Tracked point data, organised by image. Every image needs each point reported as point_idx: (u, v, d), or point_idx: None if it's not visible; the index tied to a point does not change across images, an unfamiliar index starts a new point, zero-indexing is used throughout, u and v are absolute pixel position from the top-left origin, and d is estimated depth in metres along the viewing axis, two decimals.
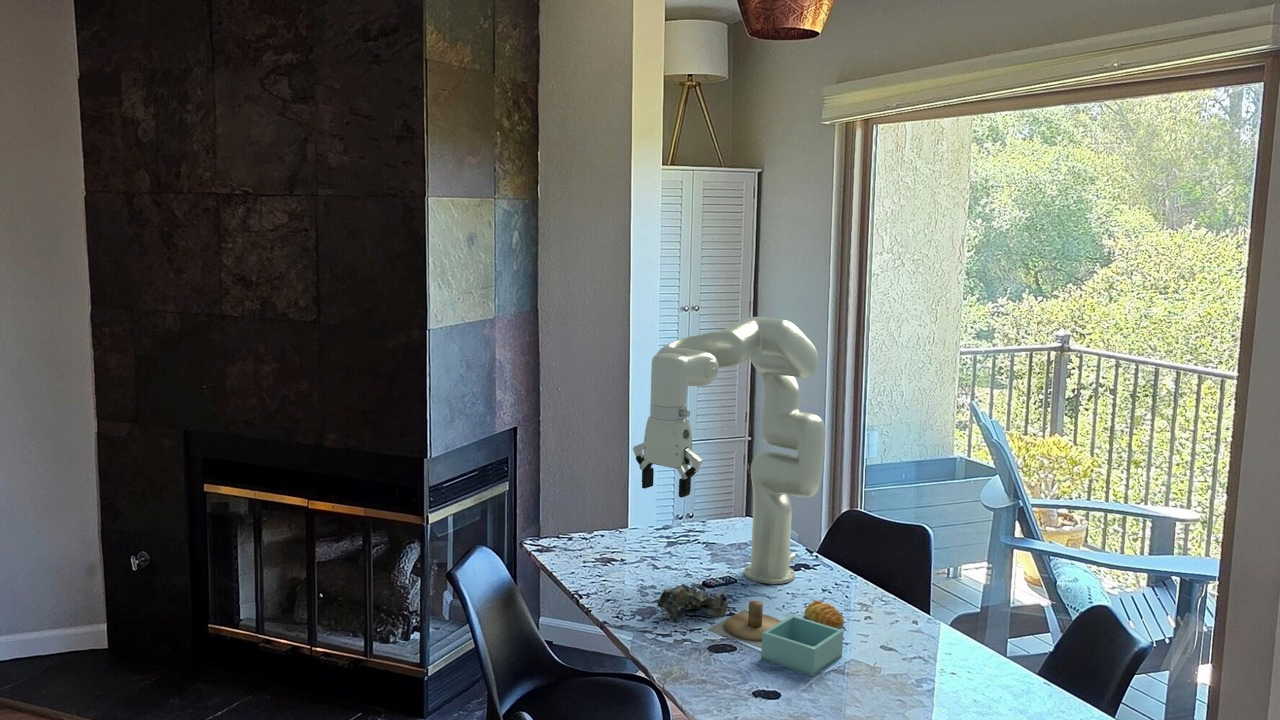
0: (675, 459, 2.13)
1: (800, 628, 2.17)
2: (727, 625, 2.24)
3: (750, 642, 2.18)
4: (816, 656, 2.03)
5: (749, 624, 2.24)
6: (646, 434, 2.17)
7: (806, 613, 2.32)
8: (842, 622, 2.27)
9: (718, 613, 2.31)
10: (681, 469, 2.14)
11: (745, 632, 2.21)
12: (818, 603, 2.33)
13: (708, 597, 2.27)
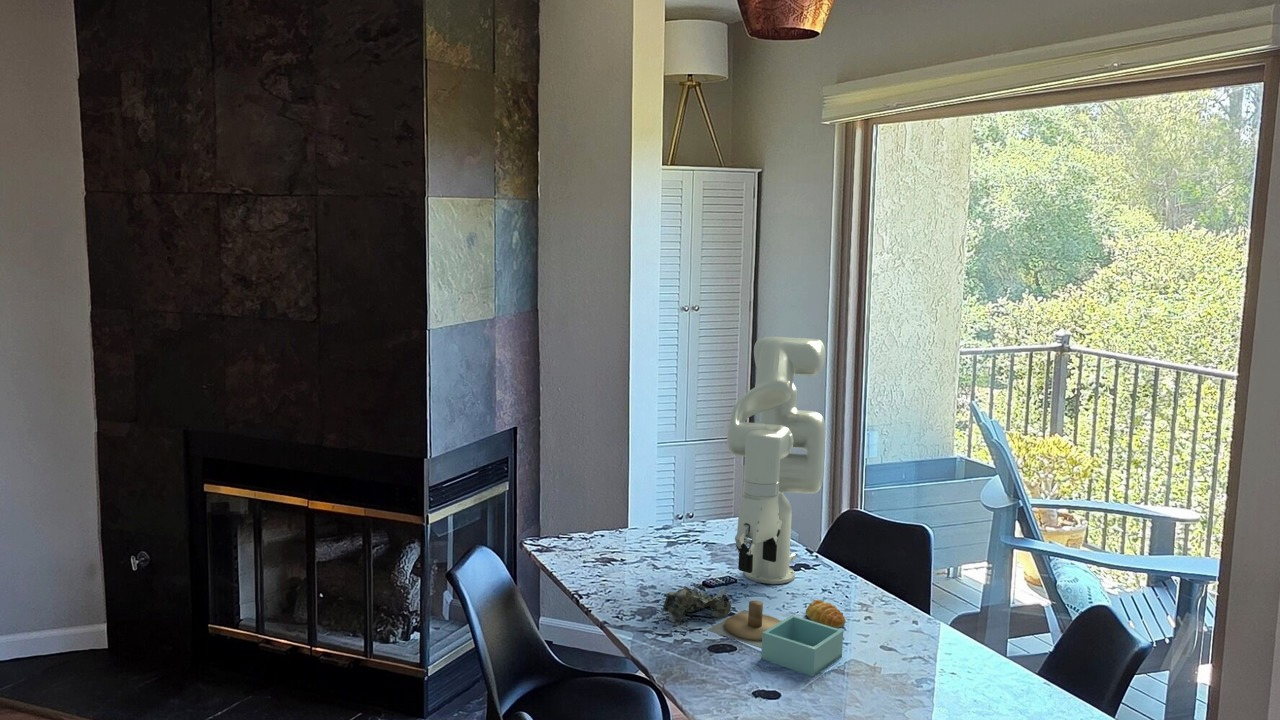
0: (776, 527, 2.23)
1: (800, 628, 2.17)
2: (727, 625, 2.24)
3: (750, 642, 2.18)
4: (816, 656, 2.03)
5: (749, 624, 2.24)
6: (759, 516, 2.16)
7: (807, 612, 2.32)
8: (843, 621, 2.27)
9: (721, 614, 2.30)
10: (775, 535, 2.24)
11: (745, 632, 2.21)
12: (818, 603, 2.33)
13: (713, 598, 2.27)
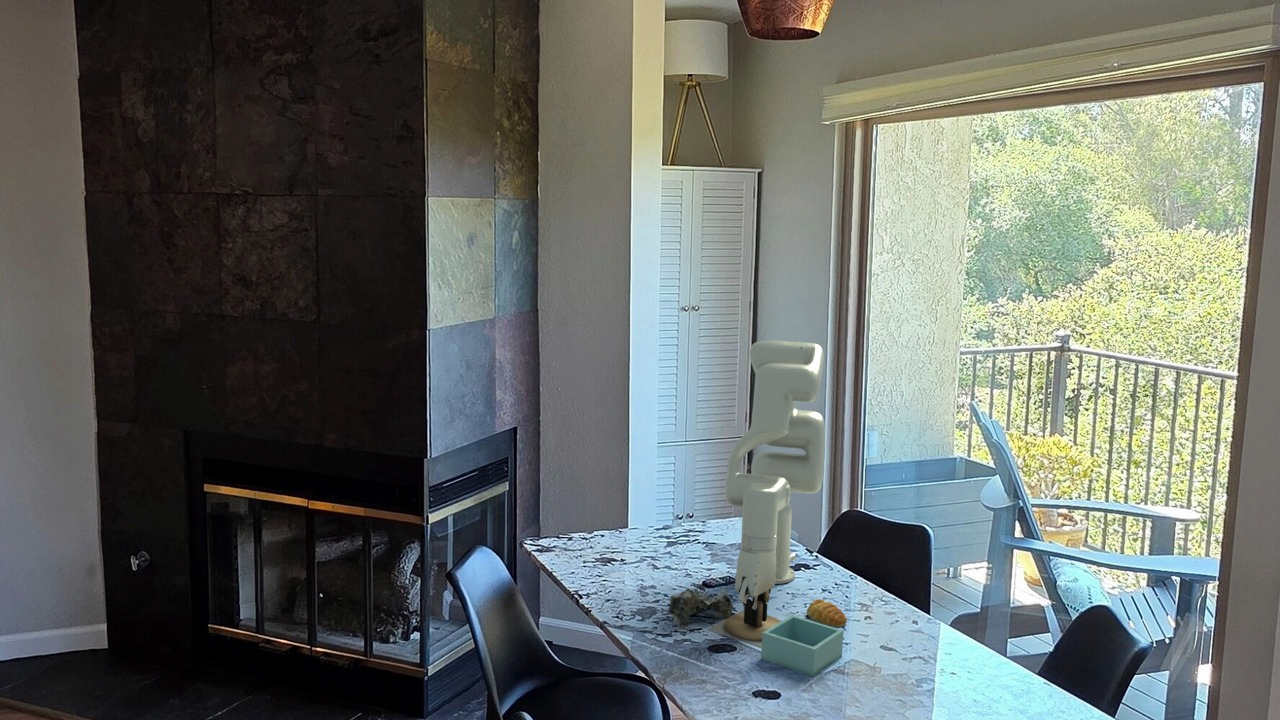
0: (774, 578, 2.25)
1: (800, 628, 2.17)
2: (727, 625, 2.24)
3: (750, 642, 2.18)
4: (816, 656, 2.03)
5: None
6: (756, 570, 2.18)
7: (808, 612, 2.32)
8: (845, 620, 2.28)
9: (724, 615, 2.30)
10: (768, 593, 2.25)
11: (745, 632, 2.21)
12: (819, 602, 2.33)
13: (717, 599, 2.26)
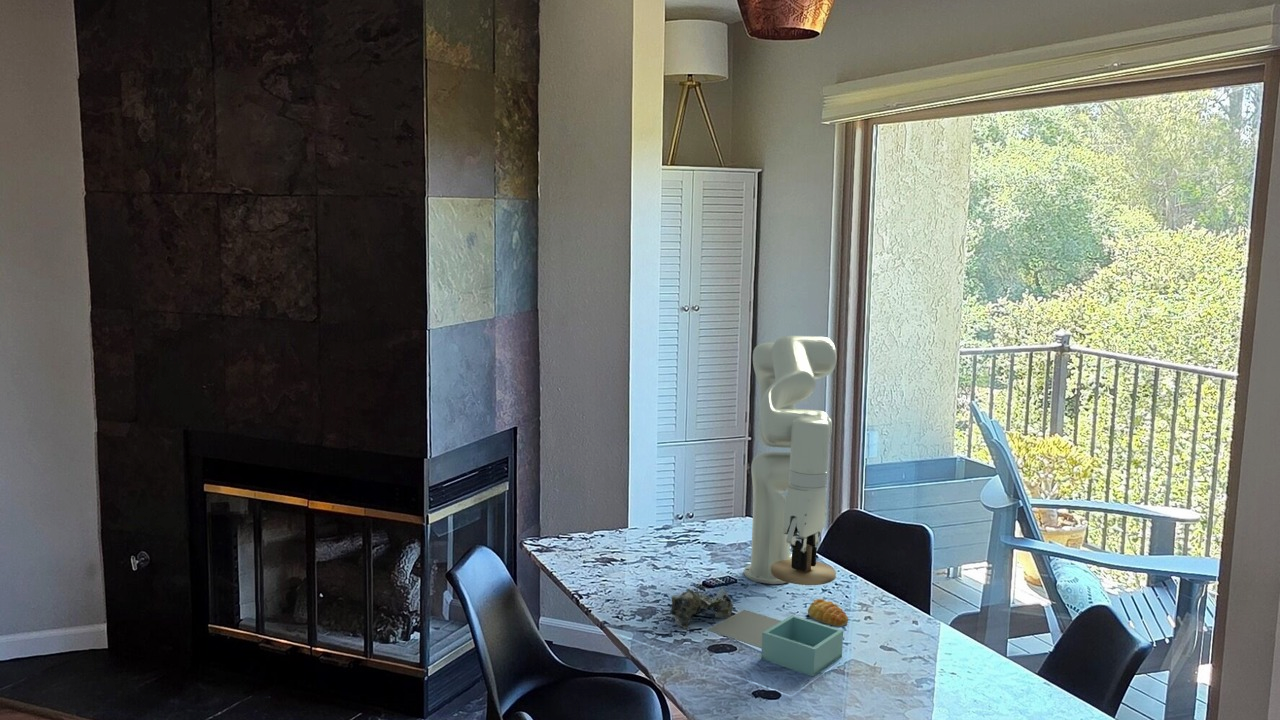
0: (824, 520, 2.09)
1: (800, 628, 2.17)
2: (774, 569, 2.09)
3: (750, 642, 2.18)
4: (816, 656, 2.03)
5: None
6: (806, 509, 2.03)
7: (809, 612, 2.32)
8: (846, 620, 2.28)
9: (725, 615, 2.30)
10: (817, 536, 2.09)
11: (794, 576, 2.05)
12: (820, 601, 2.34)
13: (719, 599, 2.26)
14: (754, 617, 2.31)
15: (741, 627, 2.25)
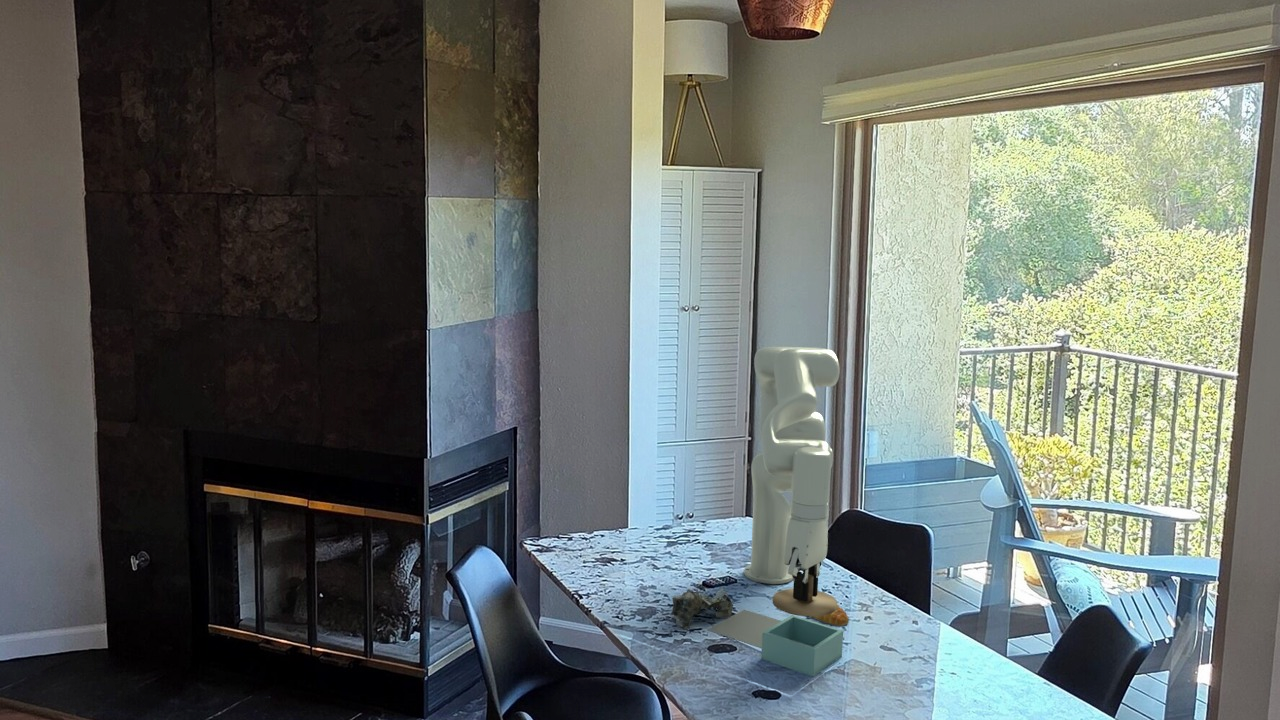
0: (825, 550, 2.09)
1: (800, 628, 2.17)
2: (775, 600, 2.09)
3: (750, 642, 2.18)
4: (816, 656, 2.03)
5: None
6: (808, 540, 2.03)
7: None
8: (847, 619, 2.28)
9: (725, 615, 2.30)
10: (819, 566, 2.09)
11: (795, 607, 2.05)
12: None
13: (720, 599, 2.26)
14: (754, 617, 2.31)
15: (741, 627, 2.25)
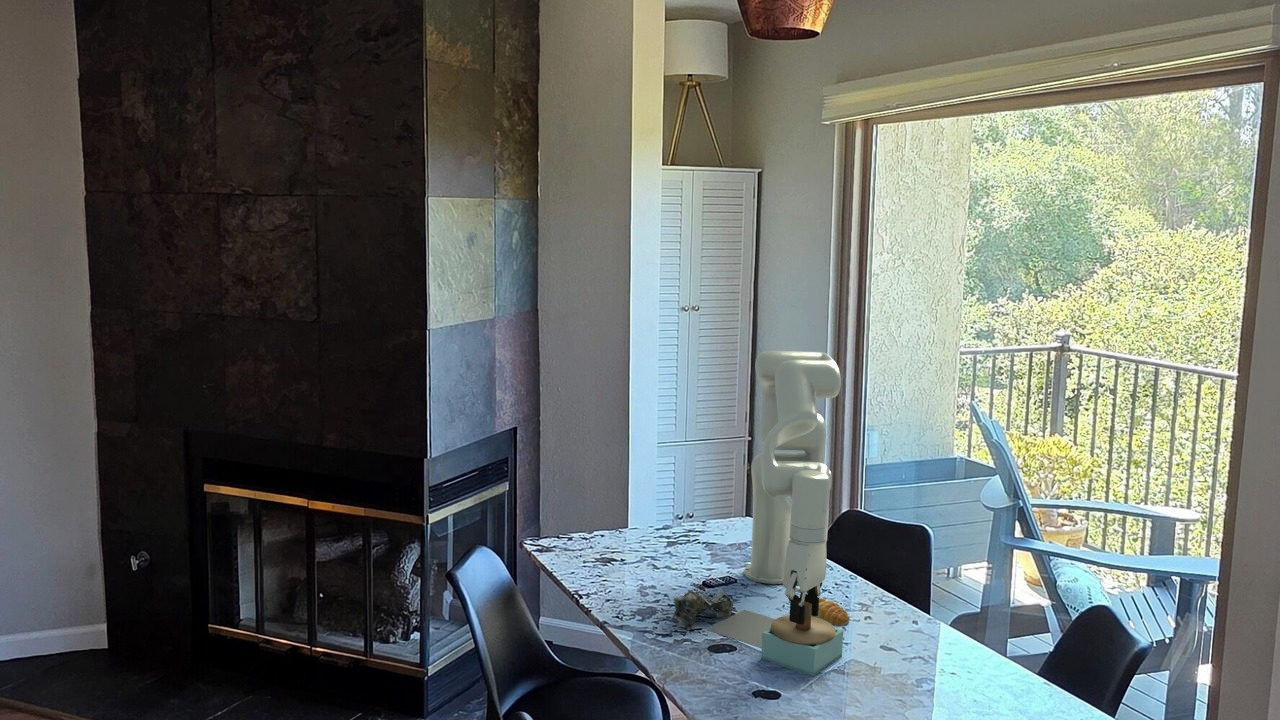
0: (824, 573, 2.10)
1: None
2: (774, 627, 2.10)
3: (750, 642, 2.18)
4: (816, 656, 2.03)
5: (797, 626, 2.09)
6: (807, 563, 2.03)
7: None
8: (848, 619, 2.29)
9: (726, 615, 2.30)
10: (819, 586, 2.11)
11: (794, 635, 2.06)
12: (821, 601, 2.34)
13: (721, 600, 2.26)
14: (754, 617, 2.31)
15: (741, 627, 2.25)
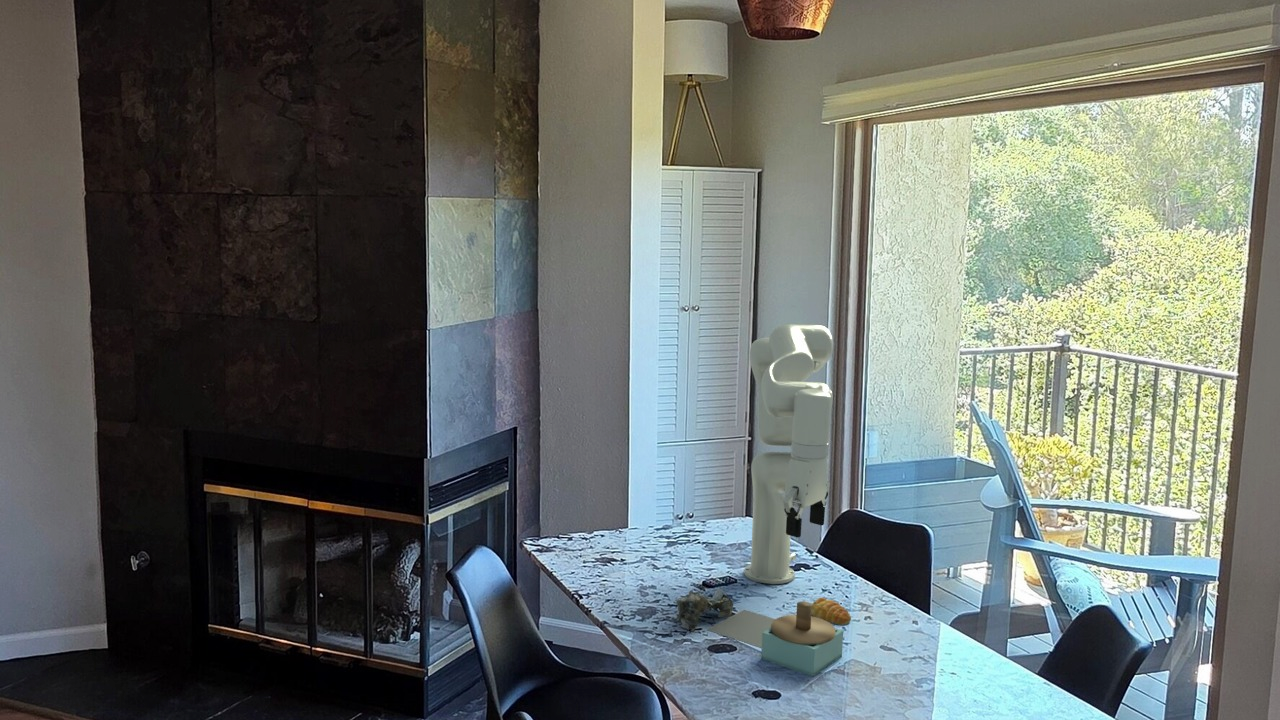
0: (825, 490, 2.14)
1: None
2: (774, 627, 2.10)
3: (750, 642, 2.18)
4: (816, 656, 2.03)
5: (797, 626, 2.09)
6: (808, 479, 2.07)
7: (812, 611, 2.33)
8: (849, 618, 2.29)
9: (727, 614, 2.30)
10: (823, 498, 2.16)
11: (794, 635, 2.06)
12: (822, 600, 2.34)
13: (723, 599, 2.26)
14: (754, 617, 2.31)
15: (741, 627, 2.25)
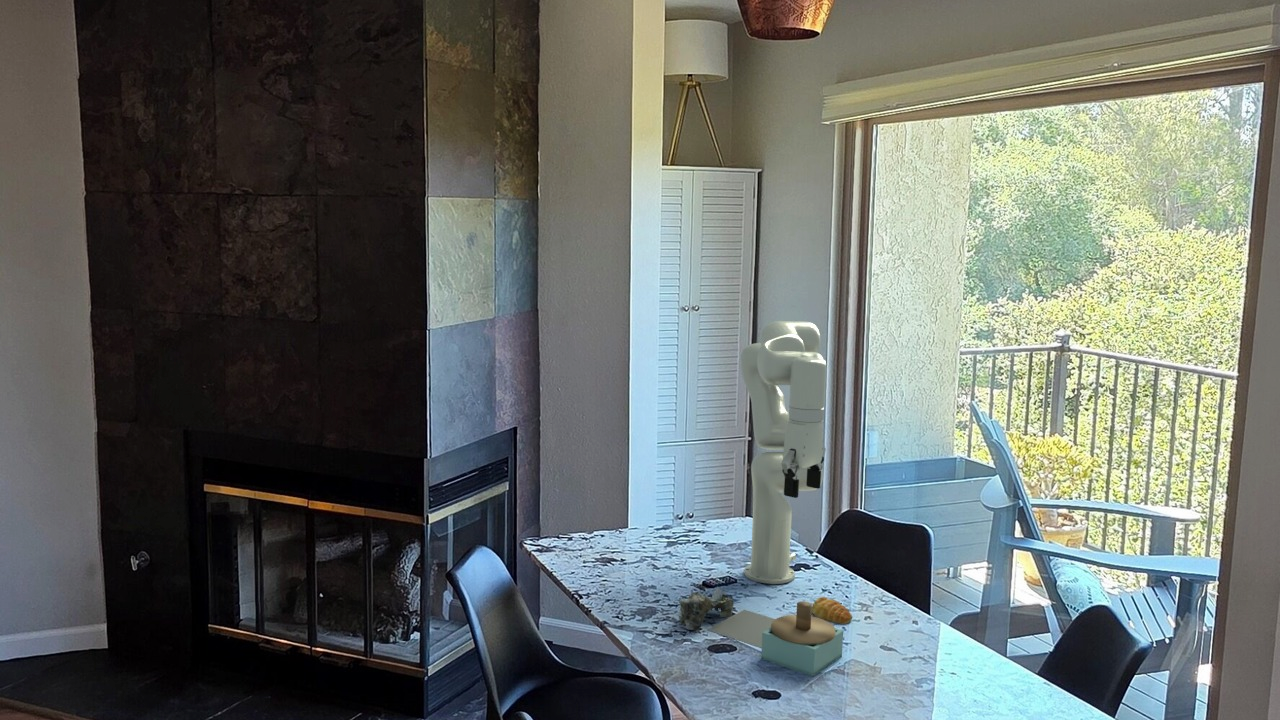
0: (821, 454, 2.25)
1: None
2: (774, 627, 2.10)
3: (750, 642, 2.18)
4: (816, 656, 2.03)
5: (797, 626, 2.09)
6: (805, 442, 2.18)
7: (813, 610, 2.33)
8: (851, 617, 2.30)
9: (728, 614, 2.30)
10: (819, 462, 2.26)
11: (794, 635, 2.06)
12: (823, 600, 2.35)
13: (726, 599, 2.26)
14: (754, 617, 2.31)
15: (741, 627, 2.25)
